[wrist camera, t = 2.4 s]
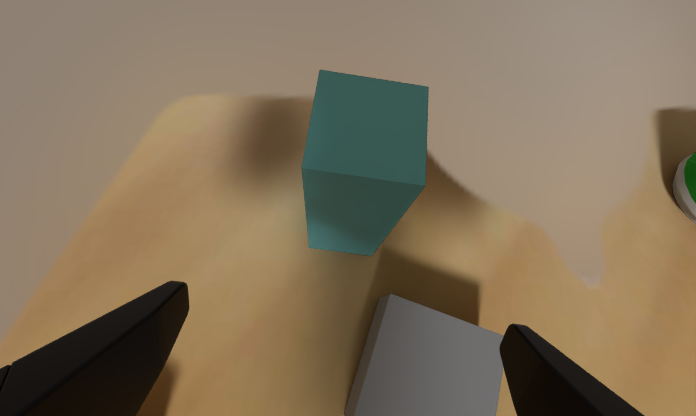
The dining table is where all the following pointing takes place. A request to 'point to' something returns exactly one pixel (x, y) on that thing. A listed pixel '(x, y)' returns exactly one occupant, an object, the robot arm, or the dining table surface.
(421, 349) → the base brick
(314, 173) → the teal brick
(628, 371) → the dining table surface
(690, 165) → the soda can
